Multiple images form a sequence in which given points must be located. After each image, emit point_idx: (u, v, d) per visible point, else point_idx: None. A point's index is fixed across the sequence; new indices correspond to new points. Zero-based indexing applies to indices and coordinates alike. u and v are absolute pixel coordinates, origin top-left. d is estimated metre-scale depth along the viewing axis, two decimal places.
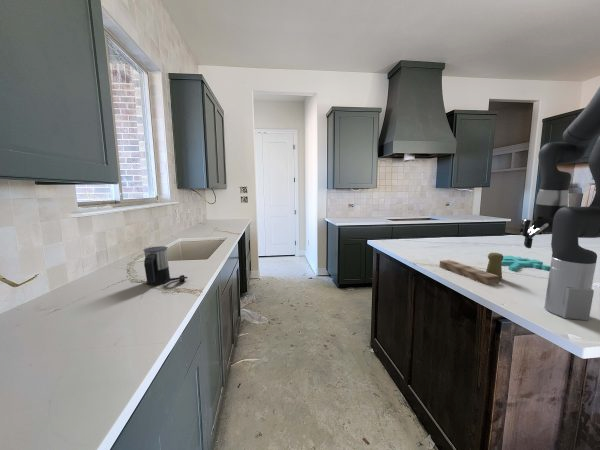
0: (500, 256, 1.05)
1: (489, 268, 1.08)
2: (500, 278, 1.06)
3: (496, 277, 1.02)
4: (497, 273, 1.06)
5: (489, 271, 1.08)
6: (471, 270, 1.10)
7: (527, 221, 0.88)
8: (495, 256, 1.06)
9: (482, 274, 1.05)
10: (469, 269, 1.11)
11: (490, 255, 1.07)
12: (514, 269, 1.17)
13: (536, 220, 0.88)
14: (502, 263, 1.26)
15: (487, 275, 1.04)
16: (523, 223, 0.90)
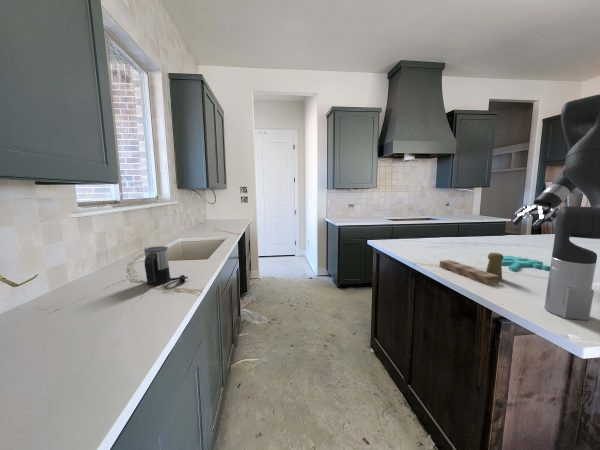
0: (500, 256, 1.05)
1: (489, 268, 1.08)
2: (500, 278, 1.06)
3: (496, 277, 1.02)
4: (497, 273, 1.06)
5: (489, 271, 1.08)
6: (471, 270, 1.10)
7: (524, 205, 1.13)
8: (495, 256, 1.06)
9: (482, 274, 1.05)
10: (469, 269, 1.11)
11: (490, 255, 1.07)
12: (514, 269, 1.17)
13: None
14: (502, 263, 1.26)
15: (487, 275, 1.04)
16: None
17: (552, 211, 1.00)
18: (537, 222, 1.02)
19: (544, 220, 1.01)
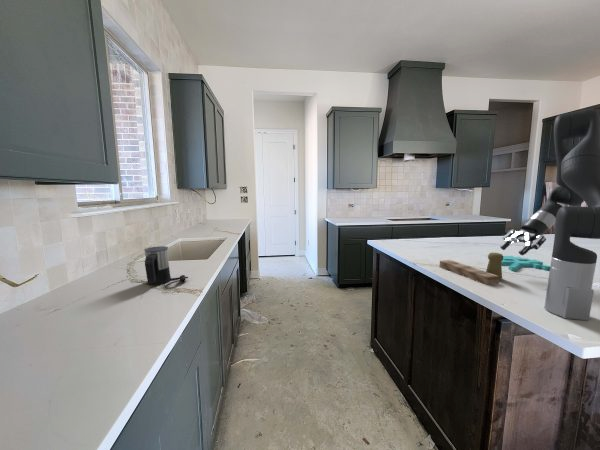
0: (500, 256, 1.05)
1: (489, 268, 1.08)
2: (500, 278, 1.06)
3: (496, 277, 1.02)
4: (497, 273, 1.06)
5: (489, 271, 1.08)
6: (471, 270, 1.10)
7: (512, 230, 1.14)
8: (495, 256, 1.06)
9: (482, 274, 1.05)
10: (469, 269, 1.11)
11: (490, 255, 1.07)
12: (514, 269, 1.17)
13: None
14: (502, 263, 1.26)
15: (487, 275, 1.04)
16: None
17: (538, 238, 1.01)
18: (523, 249, 1.03)
19: (530, 247, 1.02)
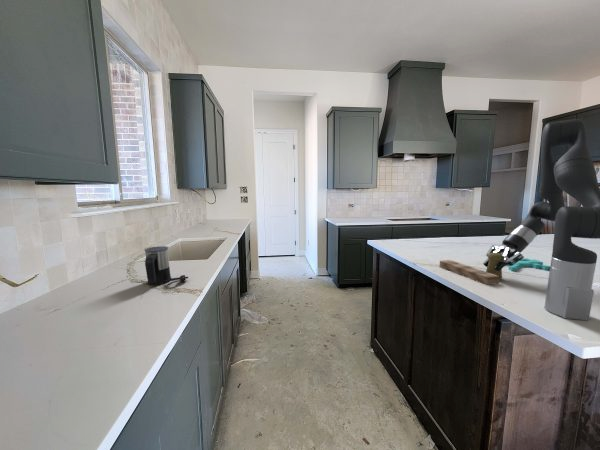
0: (500, 256, 1.05)
1: (489, 268, 1.08)
2: (500, 278, 1.06)
3: (496, 277, 1.02)
4: (497, 273, 1.06)
5: (489, 271, 1.08)
6: (471, 270, 1.10)
7: (492, 246, 1.14)
8: (495, 256, 1.06)
9: (482, 274, 1.05)
10: (469, 269, 1.11)
11: (490, 255, 1.07)
12: (514, 269, 1.17)
13: None
14: None
15: (487, 275, 1.04)
16: None
17: (514, 256, 1.02)
18: (498, 265, 1.05)
19: (505, 263, 1.04)
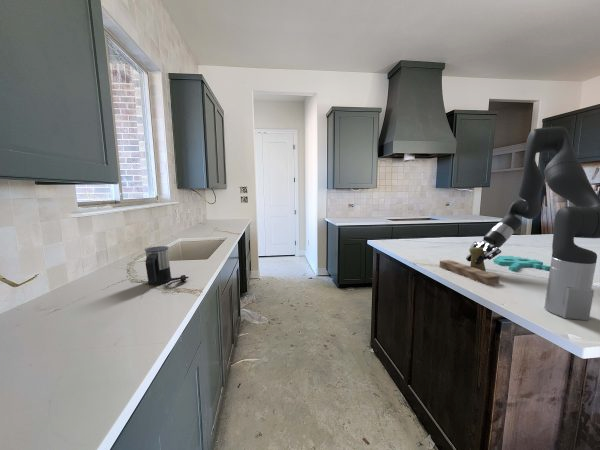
0: (480, 249, 1.14)
1: (472, 262, 1.16)
2: (484, 270, 1.14)
3: (496, 277, 1.02)
4: (480, 265, 1.14)
5: (473, 265, 1.15)
6: (471, 270, 1.10)
7: (474, 242, 1.22)
8: (476, 250, 1.14)
9: (482, 274, 1.05)
10: (469, 269, 1.11)
11: (471, 249, 1.16)
12: (514, 269, 1.17)
13: None
14: (502, 263, 1.26)
15: (487, 275, 1.04)
16: None
17: (493, 250, 1.10)
18: (478, 259, 1.13)
19: (484, 257, 1.12)
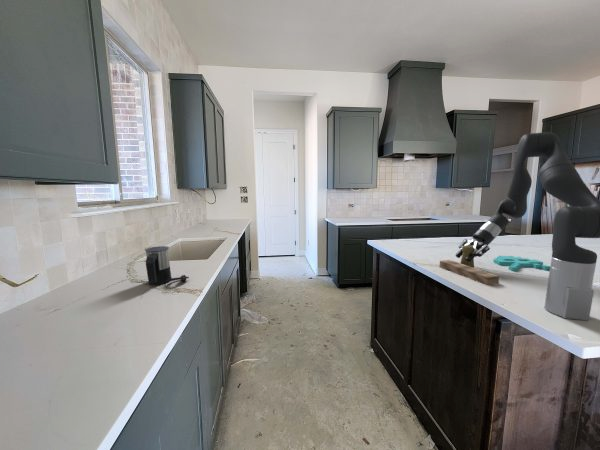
0: (472, 248, 1.18)
1: (463, 259, 1.20)
2: None
3: (496, 277, 1.02)
4: (470, 263, 1.19)
5: (463, 262, 1.20)
6: (471, 270, 1.10)
7: (464, 239, 1.27)
8: (468, 248, 1.18)
9: (482, 274, 1.05)
10: (469, 269, 1.11)
11: (463, 247, 1.20)
12: (514, 269, 1.17)
13: None
14: (502, 263, 1.26)
15: (487, 275, 1.04)
16: None
17: (482, 248, 1.15)
18: (469, 256, 1.18)
19: (475, 255, 1.17)
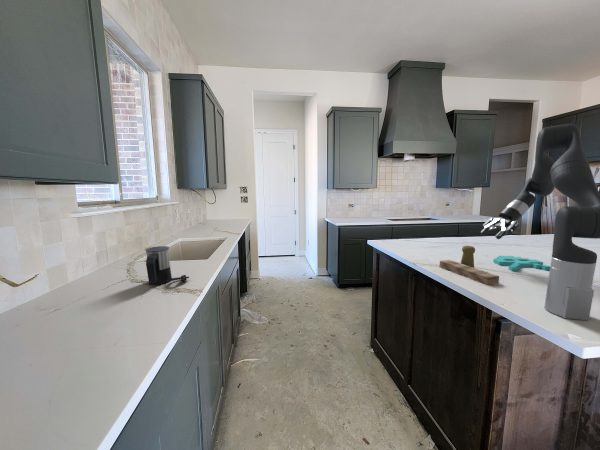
0: (472, 248, 1.18)
1: (463, 260, 1.20)
2: None
3: (496, 277, 1.02)
4: (470, 264, 1.18)
5: (463, 262, 1.20)
6: (471, 270, 1.10)
7: (491, 217, 1.27)
8: (468, 249, 1.18)
9: (482, 274, 1.05)
10: (469, 269, 1.11)
11: (464, 248, 1.20)
12: (514, 269, 1.17)
13: (496, 218, 1.24)
14: (502, 263, 1.26)
15: (487, 275, 1.04)
16: None
17: (512, 224, 1.14)
18: (499, 233, 1.16)
19: (505, 232, 1.16)
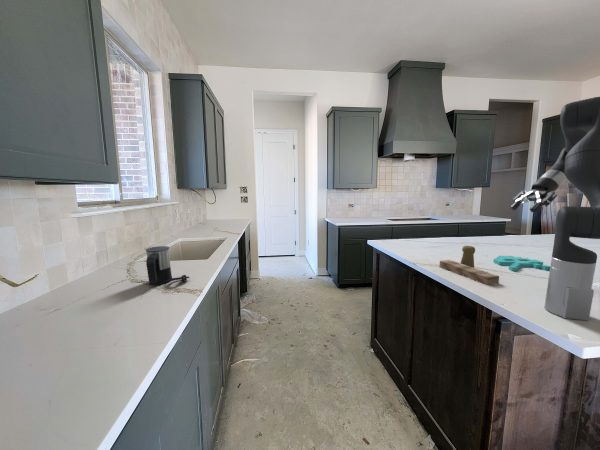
0: (472, 249, 1.18)
1: (463, 260, 1.20)
2: None
3: (496, 277, 1.02)
4: (470, 264, 1.18)
5: (463, 262, 1.20)
6: (471, 270, 1.10)
7: (522, 191, 1.16)
8: (468, 249, 1.18)
9: (482, 274, 1.05)
10: (469, 269, 1.11)
11: (464, 248, 1.20)
12: (514, 269, 1.17)
13: (528, 191, 1.13)
14: (502, 263, 1.26)
15: (487, 275, 1.04)
16: None
17: (549, 195, 1.03)
18: (534, 206, 1.05)
19: (541, 204, 1.04)
